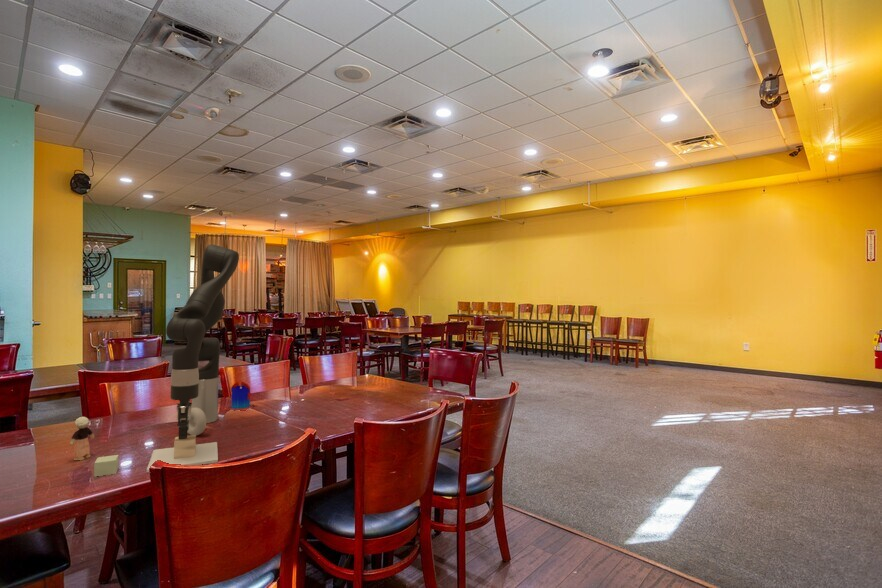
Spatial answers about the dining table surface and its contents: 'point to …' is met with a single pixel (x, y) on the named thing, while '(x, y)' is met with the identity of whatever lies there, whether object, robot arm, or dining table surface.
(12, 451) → the dining table surface
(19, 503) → the dining table surface
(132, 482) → the dining table surface
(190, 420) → the donut
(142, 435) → the dining table surface
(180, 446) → the birch block
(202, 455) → the base plate
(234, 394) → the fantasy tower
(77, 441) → the grandmother figurine
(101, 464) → the sage block
